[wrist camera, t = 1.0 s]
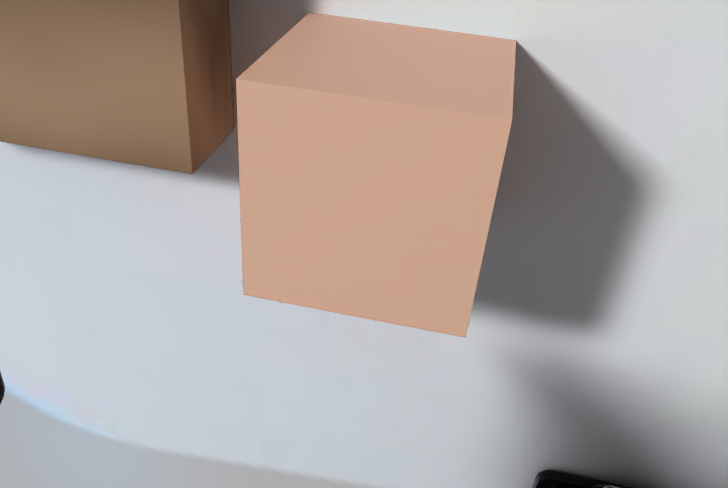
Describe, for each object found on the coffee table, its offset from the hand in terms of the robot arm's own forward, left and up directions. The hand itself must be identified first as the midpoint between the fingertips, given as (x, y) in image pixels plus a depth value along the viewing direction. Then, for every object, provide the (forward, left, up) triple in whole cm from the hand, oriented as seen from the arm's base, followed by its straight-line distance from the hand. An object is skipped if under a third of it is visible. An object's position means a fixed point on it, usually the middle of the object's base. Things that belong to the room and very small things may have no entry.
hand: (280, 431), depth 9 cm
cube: (0, 0, -12) cm, 12 cm away
